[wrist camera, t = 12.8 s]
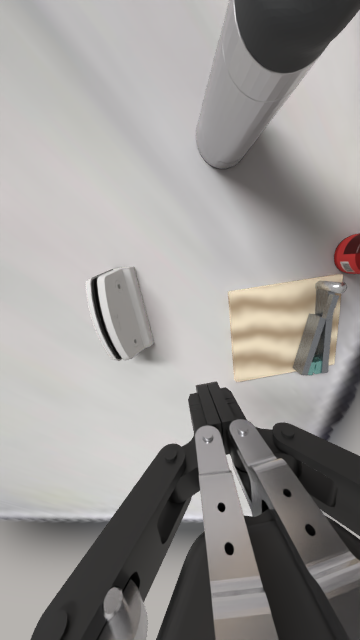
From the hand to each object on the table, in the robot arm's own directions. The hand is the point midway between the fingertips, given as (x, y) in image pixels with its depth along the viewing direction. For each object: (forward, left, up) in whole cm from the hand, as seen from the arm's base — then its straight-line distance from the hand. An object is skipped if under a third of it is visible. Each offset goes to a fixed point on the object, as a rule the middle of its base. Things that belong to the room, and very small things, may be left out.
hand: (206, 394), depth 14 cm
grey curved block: (-1, -10, -27) cm, 29 cm away
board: (+8, +23, -27) cm, 36 cm away
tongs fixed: (+8, +30, -26) cm, 40 cm away
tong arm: (+10, +28, -25) cm, 39 cm away
